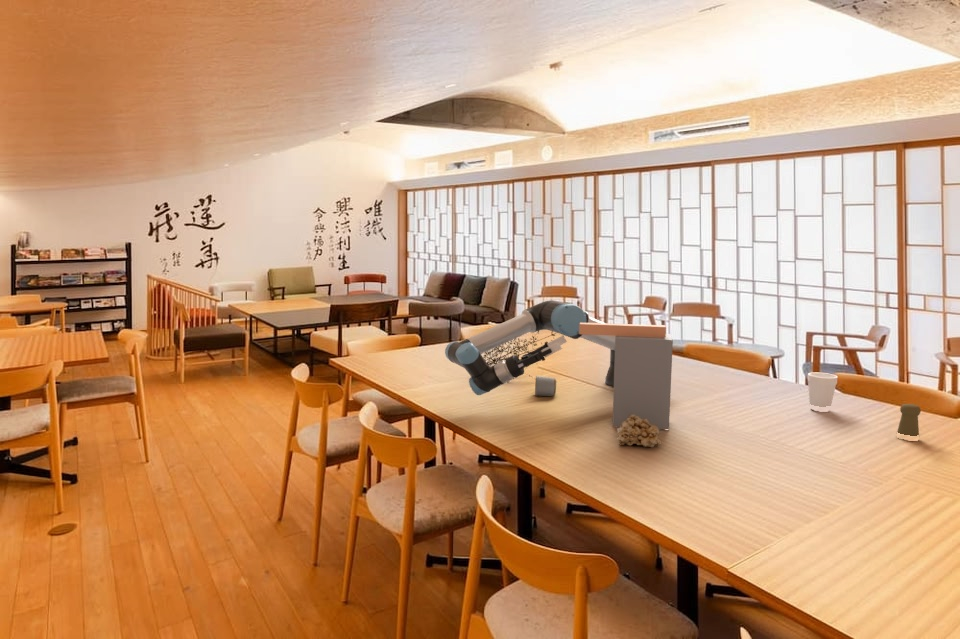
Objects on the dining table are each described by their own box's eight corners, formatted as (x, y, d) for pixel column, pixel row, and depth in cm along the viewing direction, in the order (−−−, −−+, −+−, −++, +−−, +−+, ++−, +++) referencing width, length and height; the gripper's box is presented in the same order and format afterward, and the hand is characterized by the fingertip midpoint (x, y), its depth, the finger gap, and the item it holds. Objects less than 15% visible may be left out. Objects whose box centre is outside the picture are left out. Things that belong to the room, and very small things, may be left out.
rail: (579, 334, 206) (579, 324, 206) (580, 332, 210) (580, 322, 209) (665, 337, 200) (665, 327, 199) (664, 335, 203) (665, 325, 203)
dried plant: (455, 341, 263) (551, 301, 251) (475, 335, 293) (562, 299, 281) (482, 407, 262) (580, 369, 250) (499, 394, 292) (587, 360, 280)
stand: (612, 426, 204) (615, 337, 200) (613, 416, 215) (616, 332, 211) (668, 430, 200) (672, 340, 195) (666, 419, 211) (670, 334, 207)
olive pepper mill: (896, 434, 196) (899, 400, 194) (919, 437, 192) (922, 403, 191) (895, 439, 191) (899, 405, 189) (919, 443, 188) (923, 408, 186)
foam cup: (831, 407, 225) (834, 373, 223) (837, 414, 216) (840, 379, 215) (803, 405, 228) (805, 371, 226) (807, 412, 220) (810, 377, 218)
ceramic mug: (556, 398, 239) (556, 378, 238) (535, 397, 239) (535, 378, 238) (554, 391, 249) (554, 373, 248) (534, 391, 250) (534, 372, 249)
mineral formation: (613, 447, 184) (617, 429, 198) (658, 459, 180) (660, 439, 194) (618, 423, 182) (622, 406, 196) (664, 434, 178) (665, 416, 192)
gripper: (521, 370, 228) (571, 345, 222) (507, 386, 205) (563, 358, 199) (511, 353, 229) (561, 327, 223) (497, 366, 205) (552, 338, 199)
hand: (562, 341), depth 211 cm, fingers open, 13 cm apart
